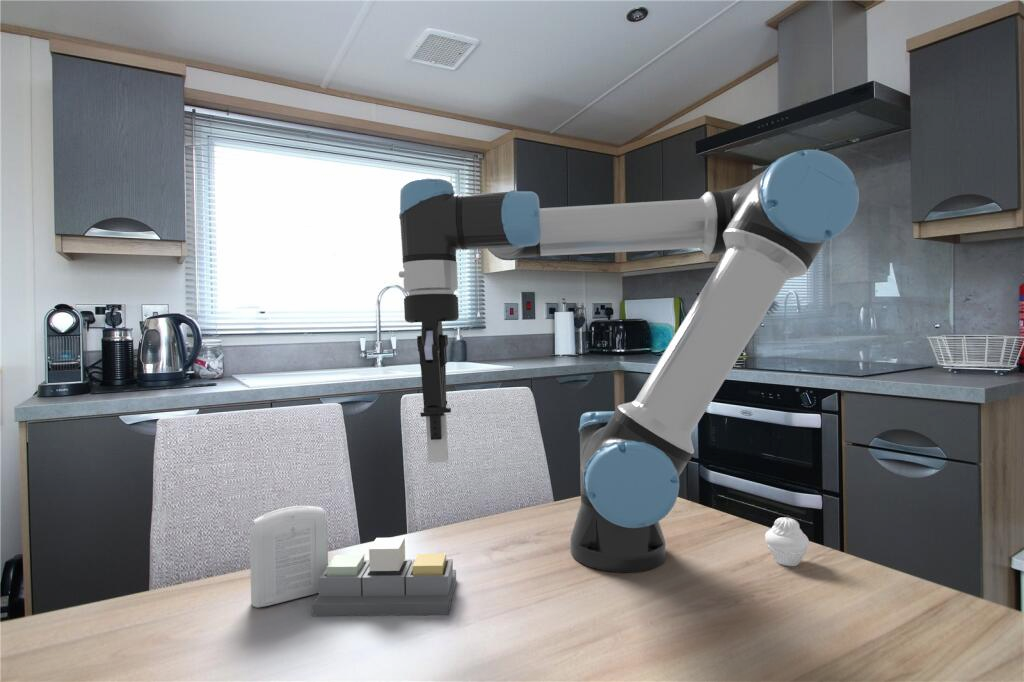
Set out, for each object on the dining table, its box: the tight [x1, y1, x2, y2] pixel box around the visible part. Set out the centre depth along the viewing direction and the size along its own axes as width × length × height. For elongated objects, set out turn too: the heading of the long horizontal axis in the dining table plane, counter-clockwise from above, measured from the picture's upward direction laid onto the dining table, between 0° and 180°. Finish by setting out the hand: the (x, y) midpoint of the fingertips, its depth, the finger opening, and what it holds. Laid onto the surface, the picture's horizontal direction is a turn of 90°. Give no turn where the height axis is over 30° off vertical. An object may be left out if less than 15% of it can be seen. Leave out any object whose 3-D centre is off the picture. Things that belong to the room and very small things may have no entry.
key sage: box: [327, 554, 365, 576], centre depth 79 cm, size 4×4×3 cm
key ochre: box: [413, 553, 447, 575], centre depth 79 cm, size 4×4×3 cm
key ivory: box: [368, 536, 406, 571], centre depth 79 cm, size 4×4×3 cm
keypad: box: [311, 558, 457, 617], centre depth 79 cm, size 18×10×4 cm, turn 89°
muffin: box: [764, 516, 810, 567], centre depth 88 cm, size 6×6×7 cm
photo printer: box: [249, 505, 329, 608], centre depth 80 cm, size 10×4×12 cm, turn 123°
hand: (438, 460), depth 81 cm, fingers closed
